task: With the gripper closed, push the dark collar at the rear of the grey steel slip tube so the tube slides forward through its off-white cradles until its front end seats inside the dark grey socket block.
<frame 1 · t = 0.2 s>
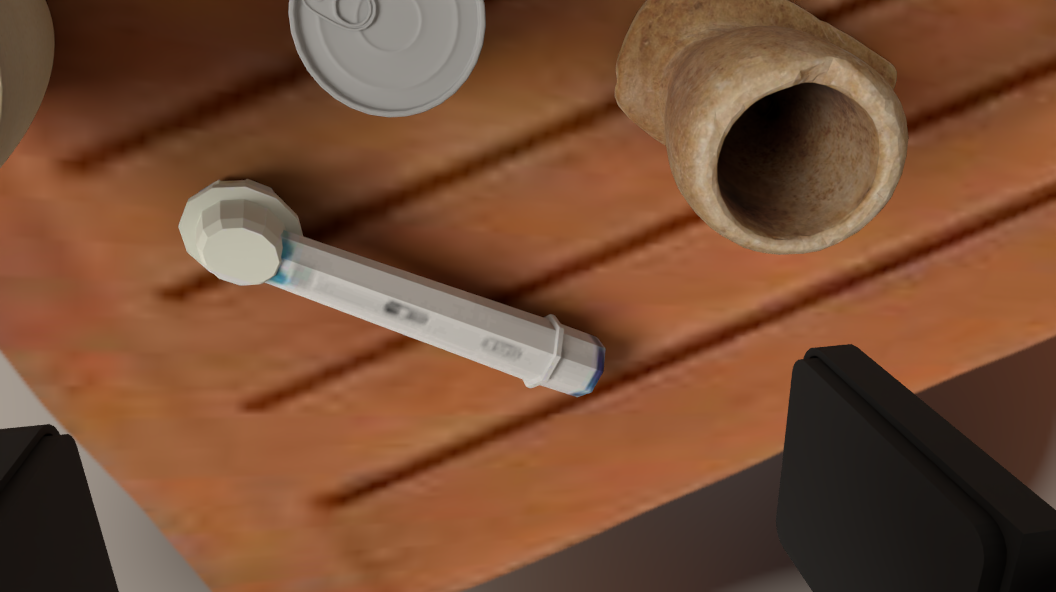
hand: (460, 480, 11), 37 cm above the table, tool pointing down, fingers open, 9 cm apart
canned tomato: (390, 6, 43), on the table
white handheld tool: (405, 281, 49), on the table
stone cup: (725, 97, 47), on the table
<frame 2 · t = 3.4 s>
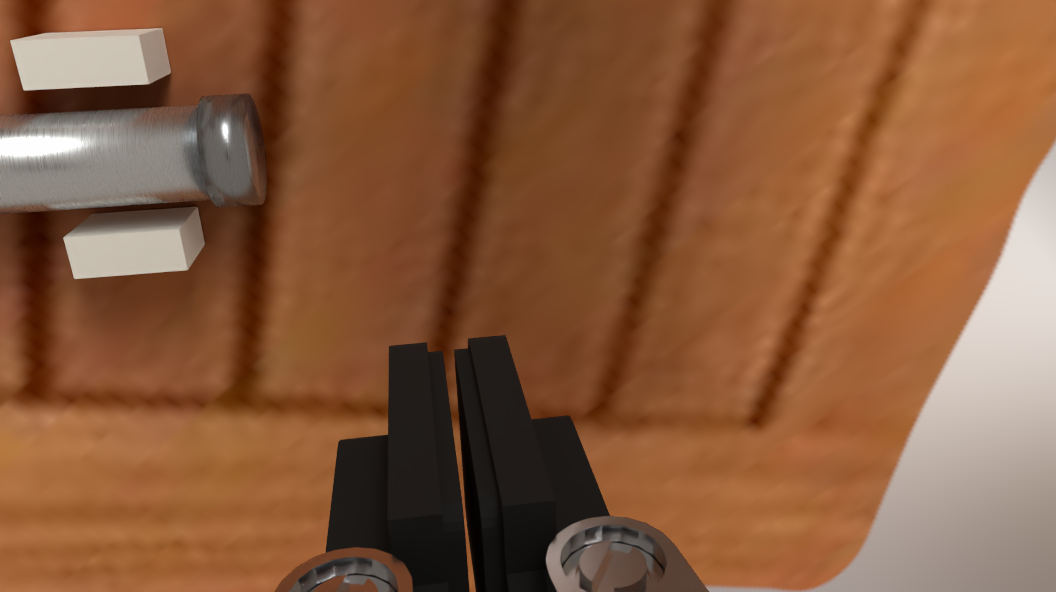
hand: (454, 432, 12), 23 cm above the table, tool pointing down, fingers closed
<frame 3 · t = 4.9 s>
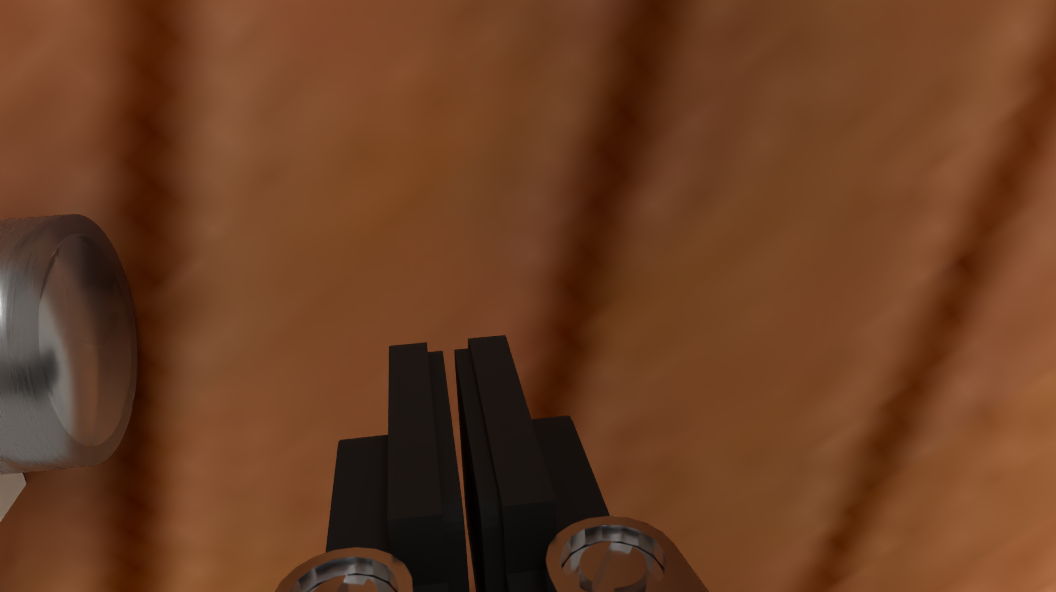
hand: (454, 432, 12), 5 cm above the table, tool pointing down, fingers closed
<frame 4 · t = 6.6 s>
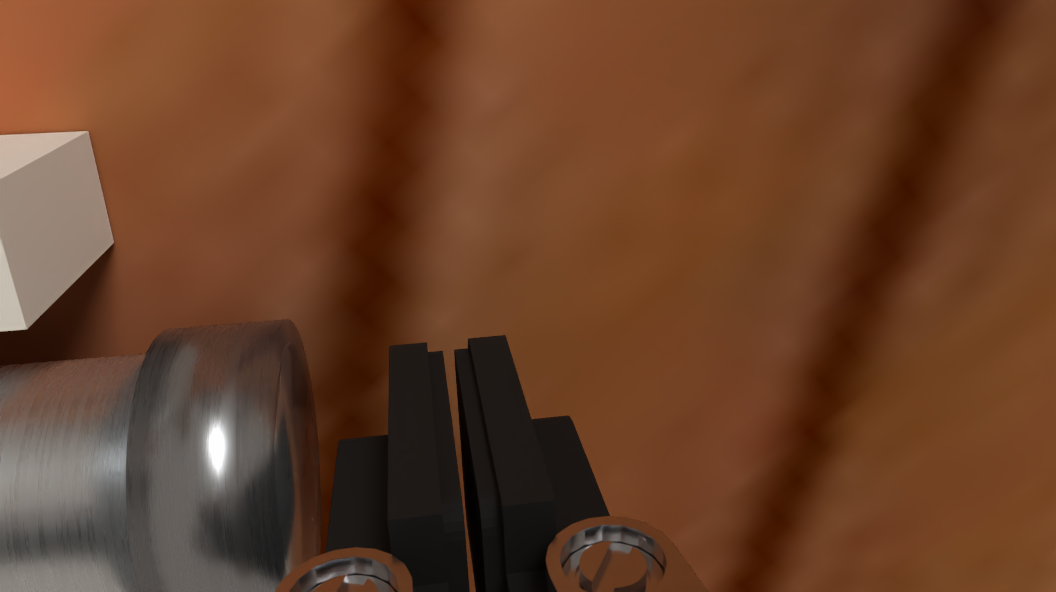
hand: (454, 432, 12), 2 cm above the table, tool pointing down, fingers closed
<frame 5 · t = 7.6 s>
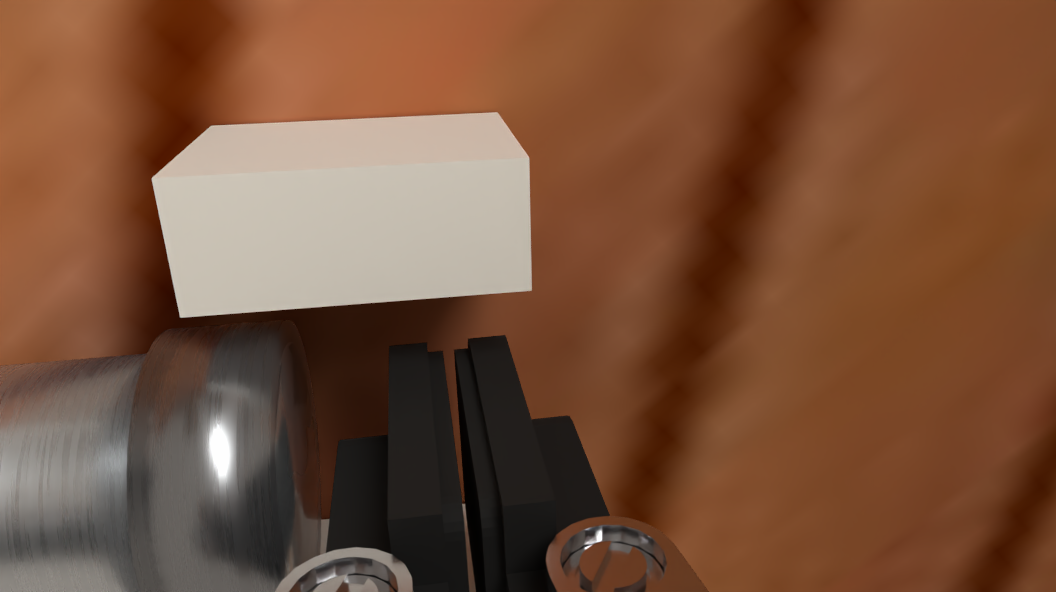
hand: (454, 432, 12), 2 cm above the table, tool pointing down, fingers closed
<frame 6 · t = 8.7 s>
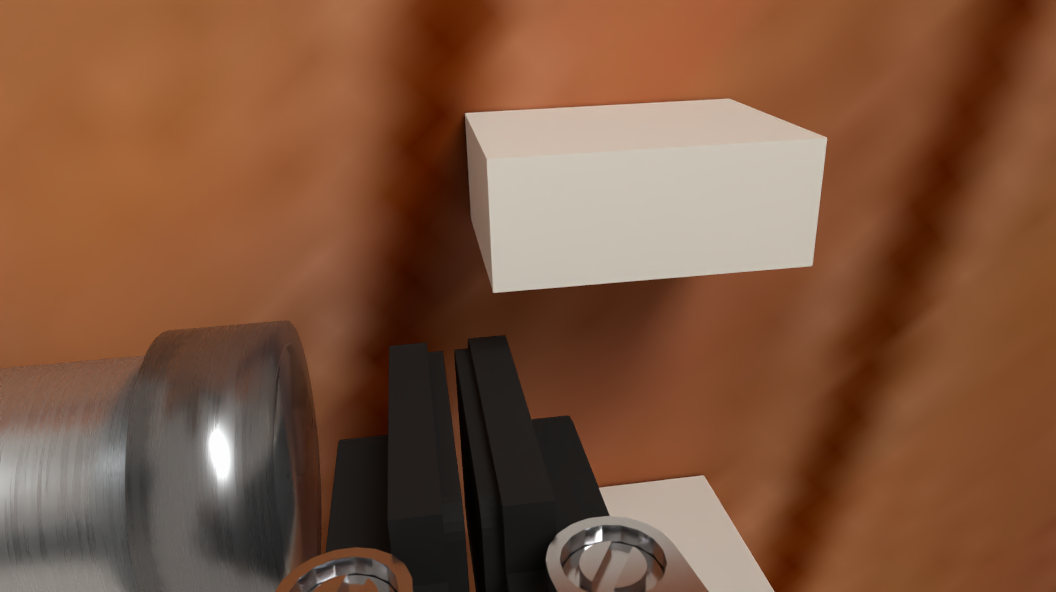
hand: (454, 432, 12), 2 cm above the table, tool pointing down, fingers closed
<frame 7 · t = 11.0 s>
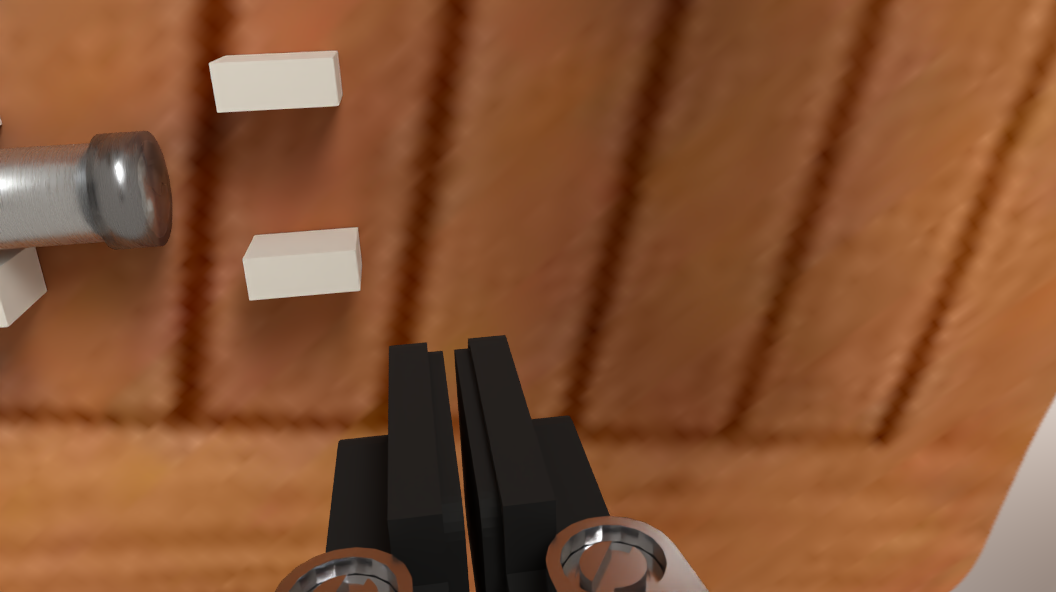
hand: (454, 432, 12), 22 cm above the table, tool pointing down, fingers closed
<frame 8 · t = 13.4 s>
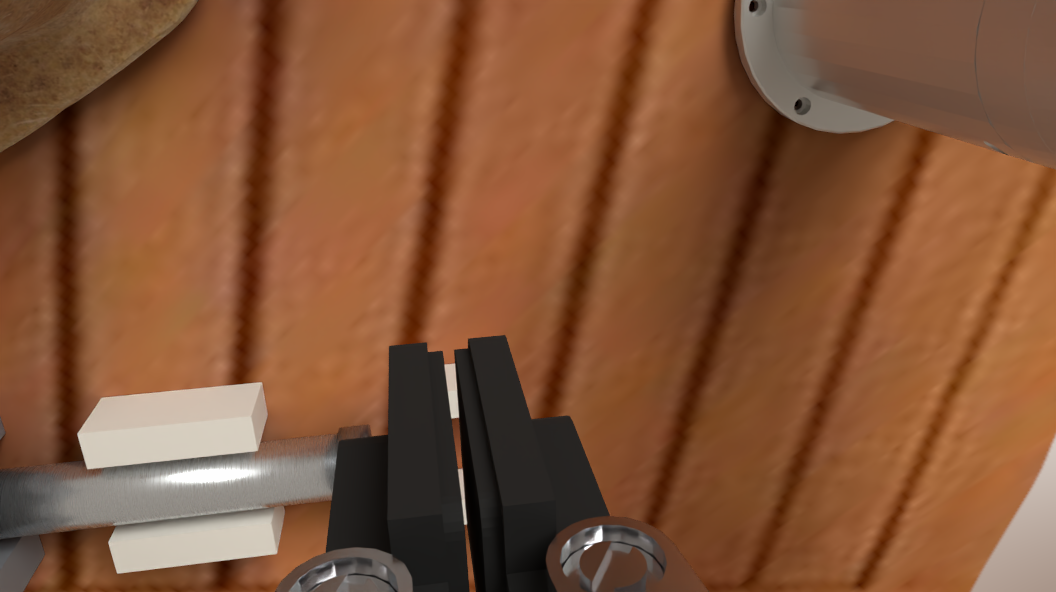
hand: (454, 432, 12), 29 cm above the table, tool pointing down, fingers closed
slip tube: (133, 489, 41), point 2 cm above the table, slide at 9.7 cm
cradles: (197, 458, 43), on the table
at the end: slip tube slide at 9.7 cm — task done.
